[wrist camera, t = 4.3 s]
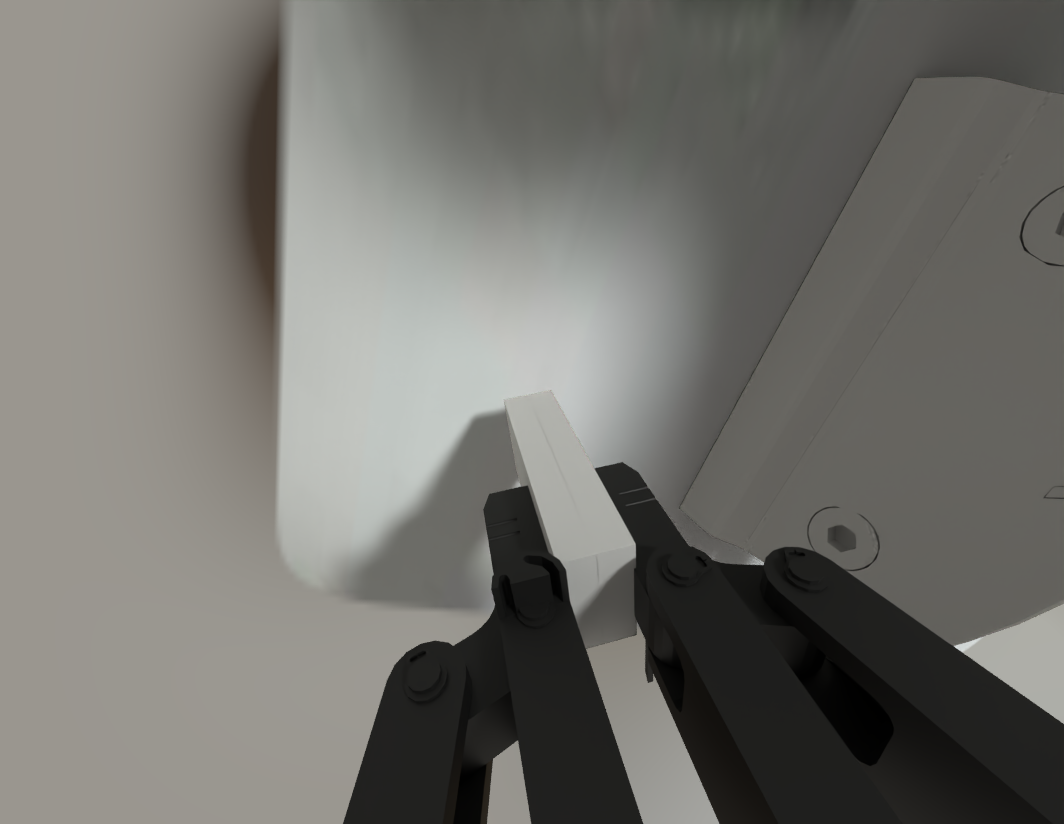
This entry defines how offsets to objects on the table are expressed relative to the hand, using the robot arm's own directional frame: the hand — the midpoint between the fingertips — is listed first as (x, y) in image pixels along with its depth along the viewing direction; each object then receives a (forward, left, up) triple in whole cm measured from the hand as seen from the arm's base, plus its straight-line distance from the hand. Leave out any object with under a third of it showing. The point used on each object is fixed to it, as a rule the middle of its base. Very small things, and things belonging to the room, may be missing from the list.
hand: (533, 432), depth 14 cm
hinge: (+1, +13, -2) cm, 13 cm away
